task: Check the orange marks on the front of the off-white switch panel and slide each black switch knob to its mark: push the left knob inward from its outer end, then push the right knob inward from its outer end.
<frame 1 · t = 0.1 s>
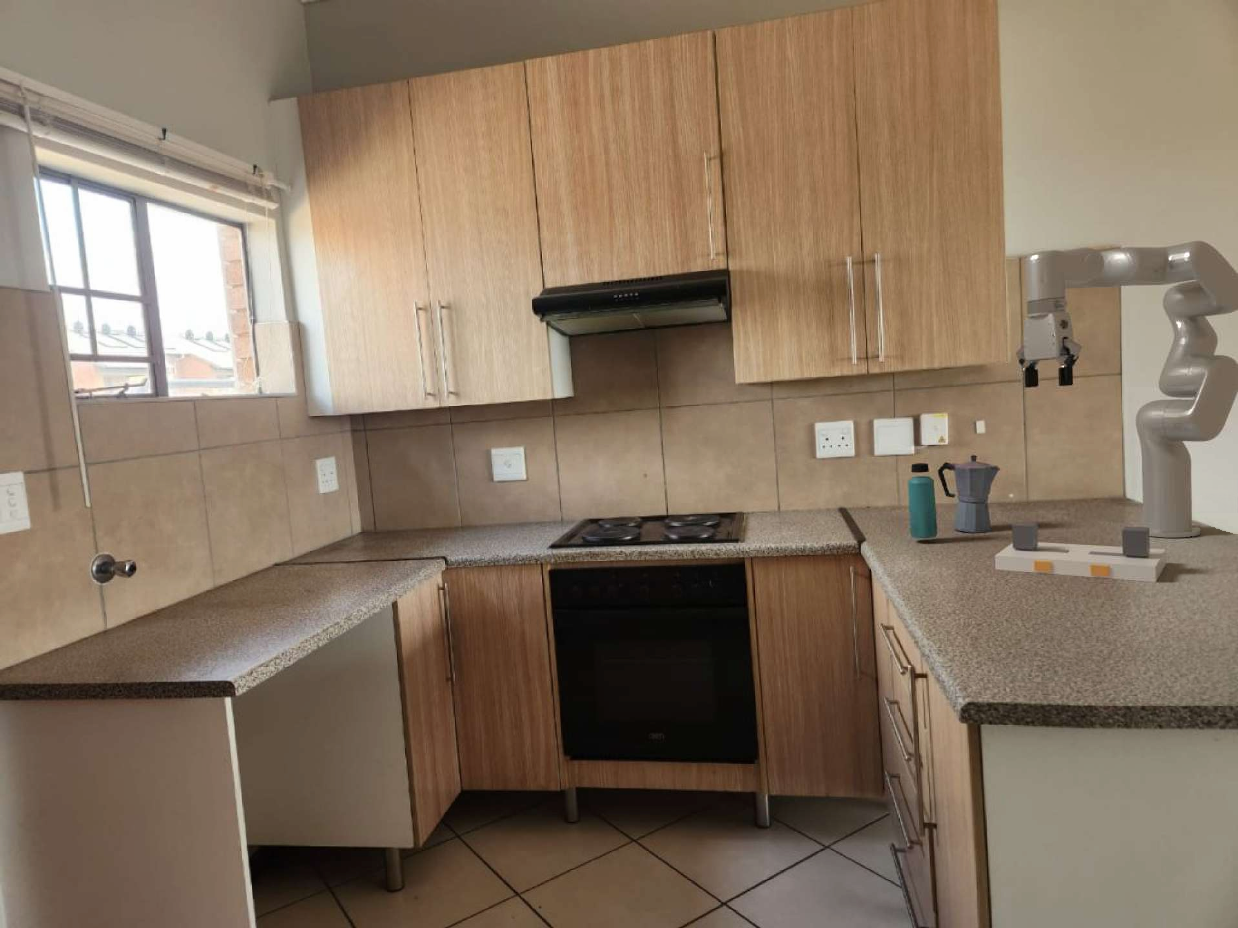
hand: (1048, 386, 173), 37 cm above the worktop, tool pointing down, fingers open, 9 cm apart
beverage bottle: (923, 542, 196), on the worktop
right knob: (1135, 541, 154), point 6 cm above the worktop, slide at 0.0 cm
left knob: (1025, 535, 167), point 6 cm above the worktop, slide at 0.0 cm
moka pot: (970, 530, 206), on the worktop
switch panel: (1079, 566, 161), on the worktop
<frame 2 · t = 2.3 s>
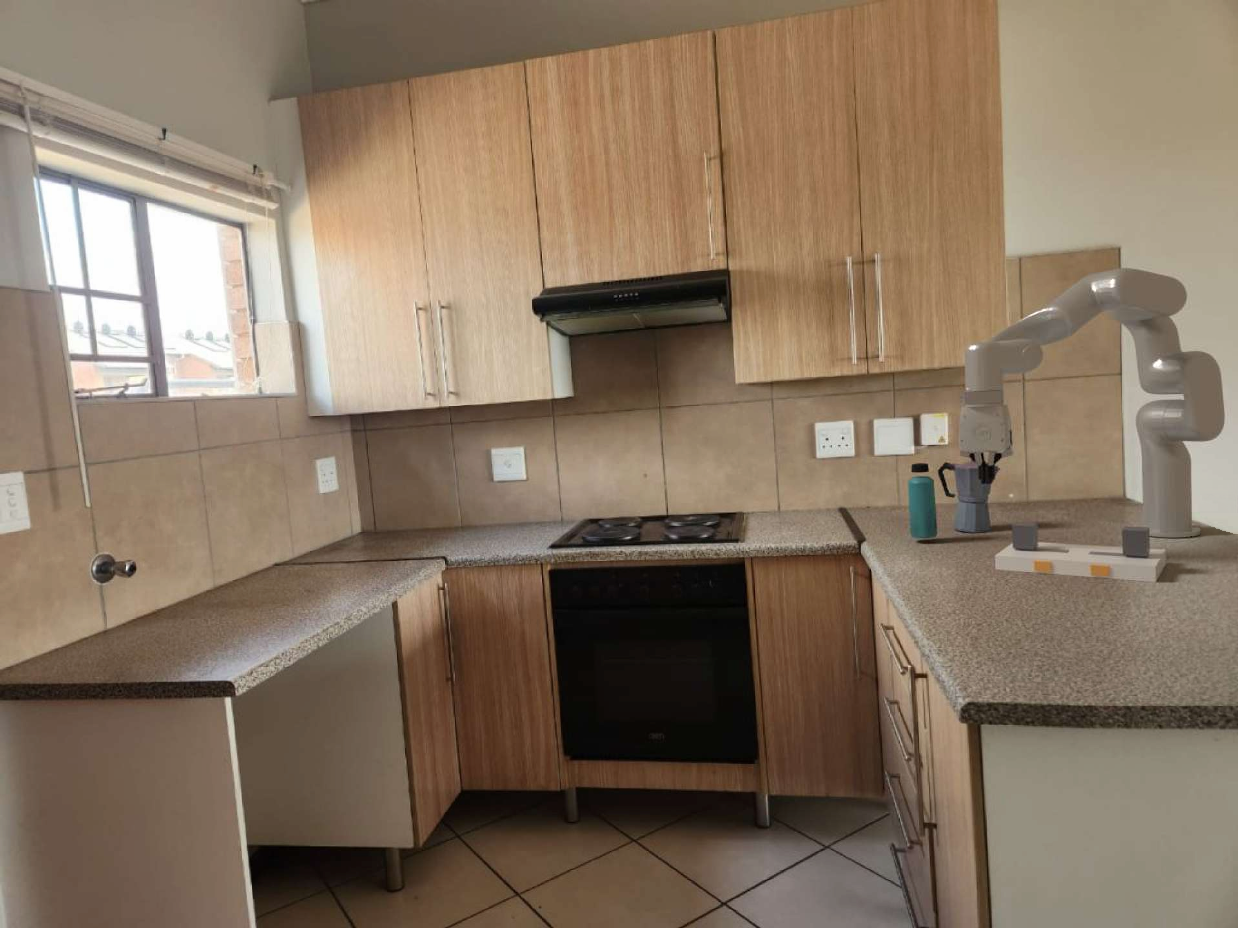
hand: (986, 483, 170), 17 cm above the worktop, tool pointing down, fingers closed
nothing on the worktop moved.
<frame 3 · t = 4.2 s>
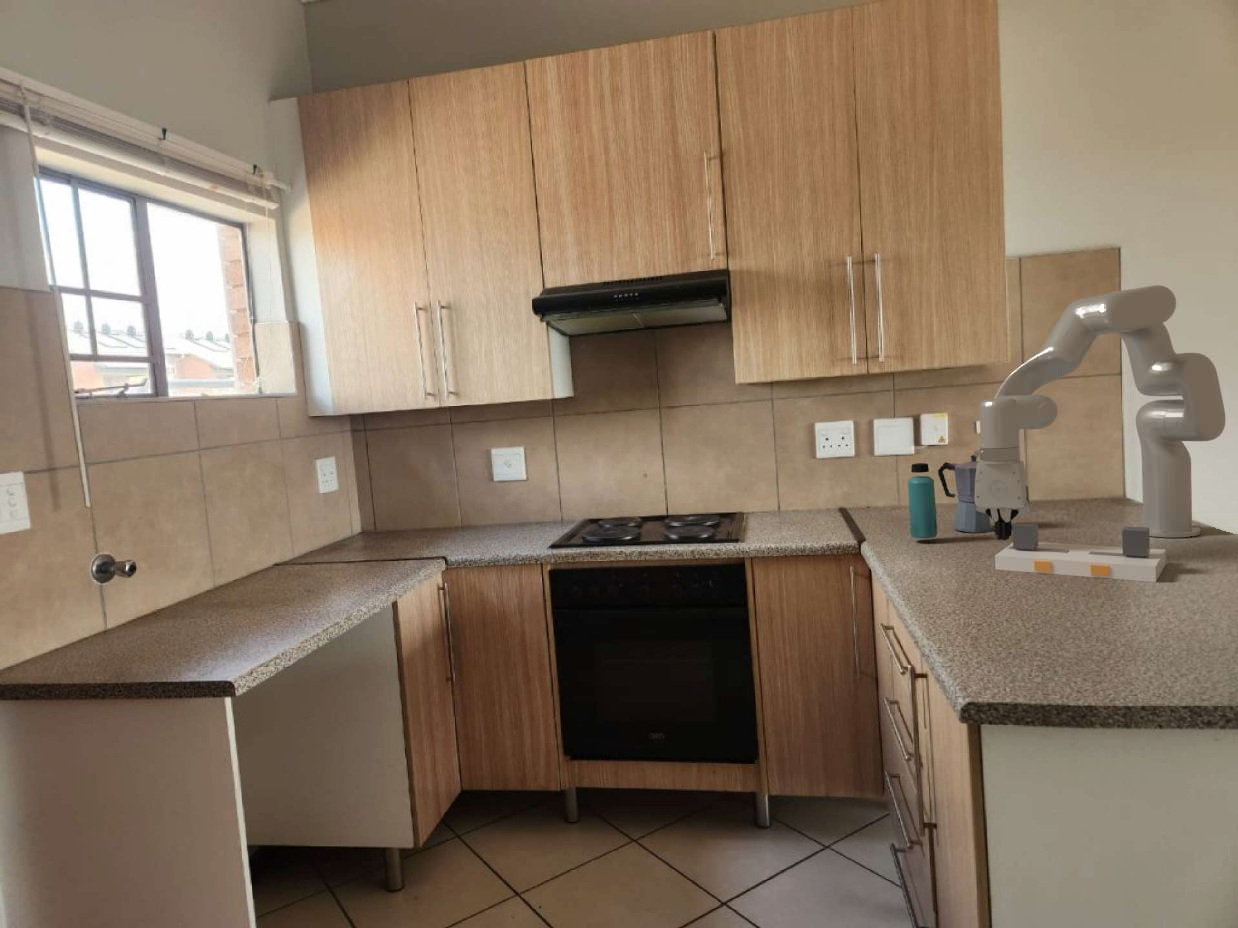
hand: (1003, 538, 170), 5 cm above the worktop, tool pointing down, fingers closed
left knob: (1025, 535, 167), point 6 cm above the worktop, slide at 0.1 cm, touching gripper
everything else where it was.
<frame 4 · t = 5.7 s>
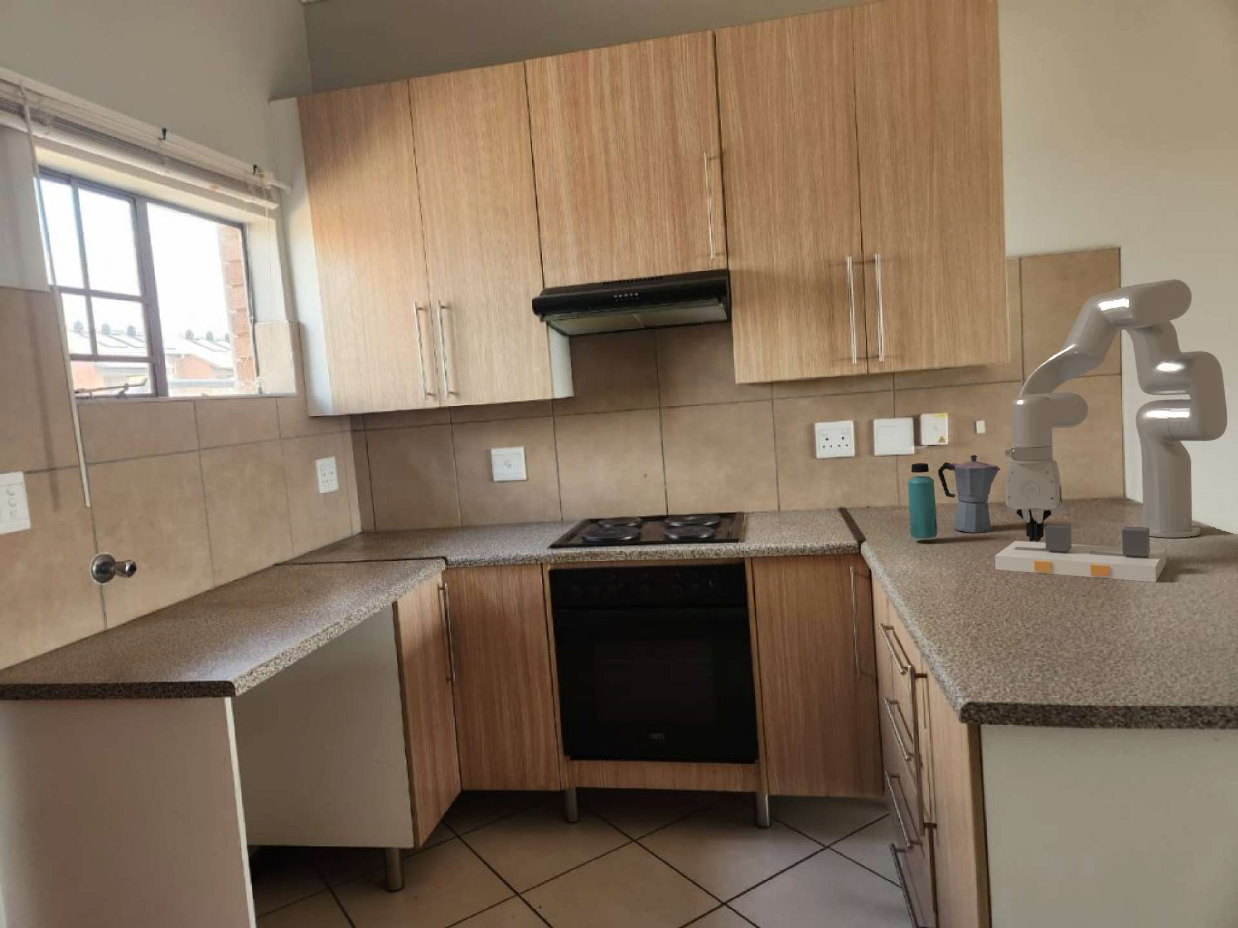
hand: (1035, 540, 166), 5 cm above the worktop, tool pointing down, fingers closed
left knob: (1058, 537, 163), point 6 cm above the worktop, slide at 6.3 cm, touching gripper
everything else where it was.
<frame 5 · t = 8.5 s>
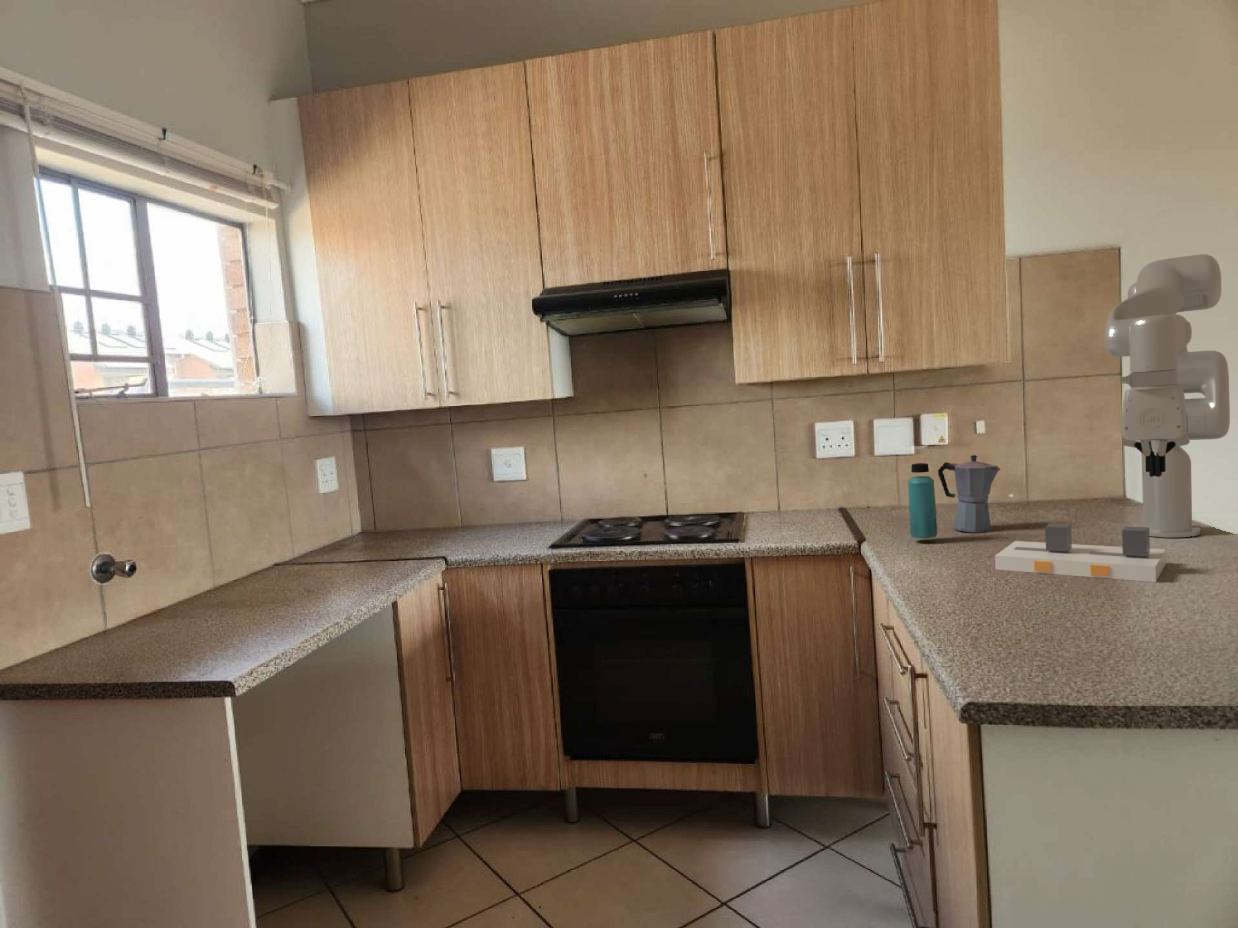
hand: (1155, 475, 150), 19 cm above the worktop, tool pointing down, fingers closed
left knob: (1058, 537, 163), point 6 cm above the worktop, slide at 6.4 cm
everything else where it was.
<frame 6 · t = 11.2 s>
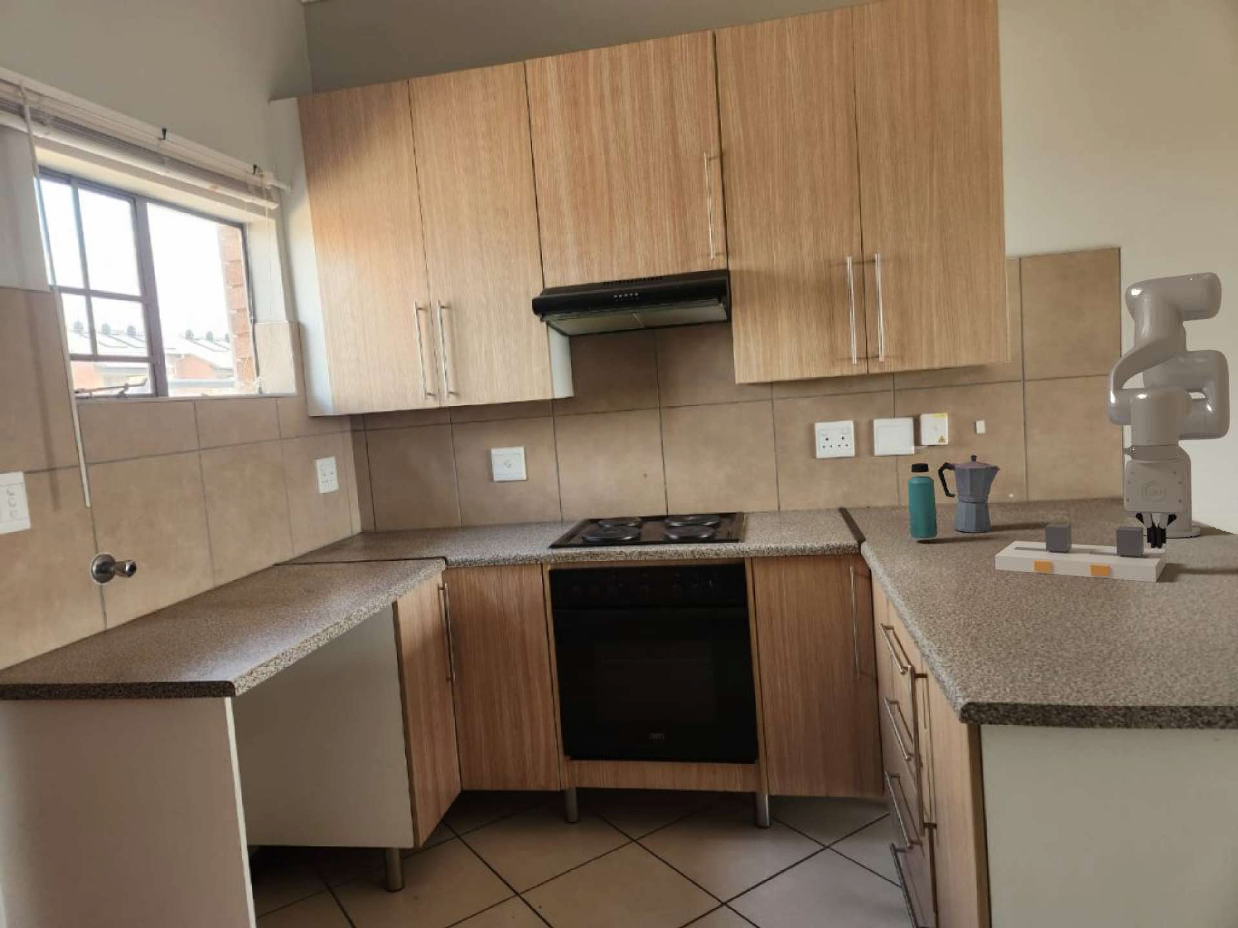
hand: (1156, 546, 152), 5 cm above the worktop, tool pointing down, fingers closed
right knob: (1130, 540, 154), point 6 cm above the worktop, slide at 1.0 cm, touching gripper
everything else where it was.
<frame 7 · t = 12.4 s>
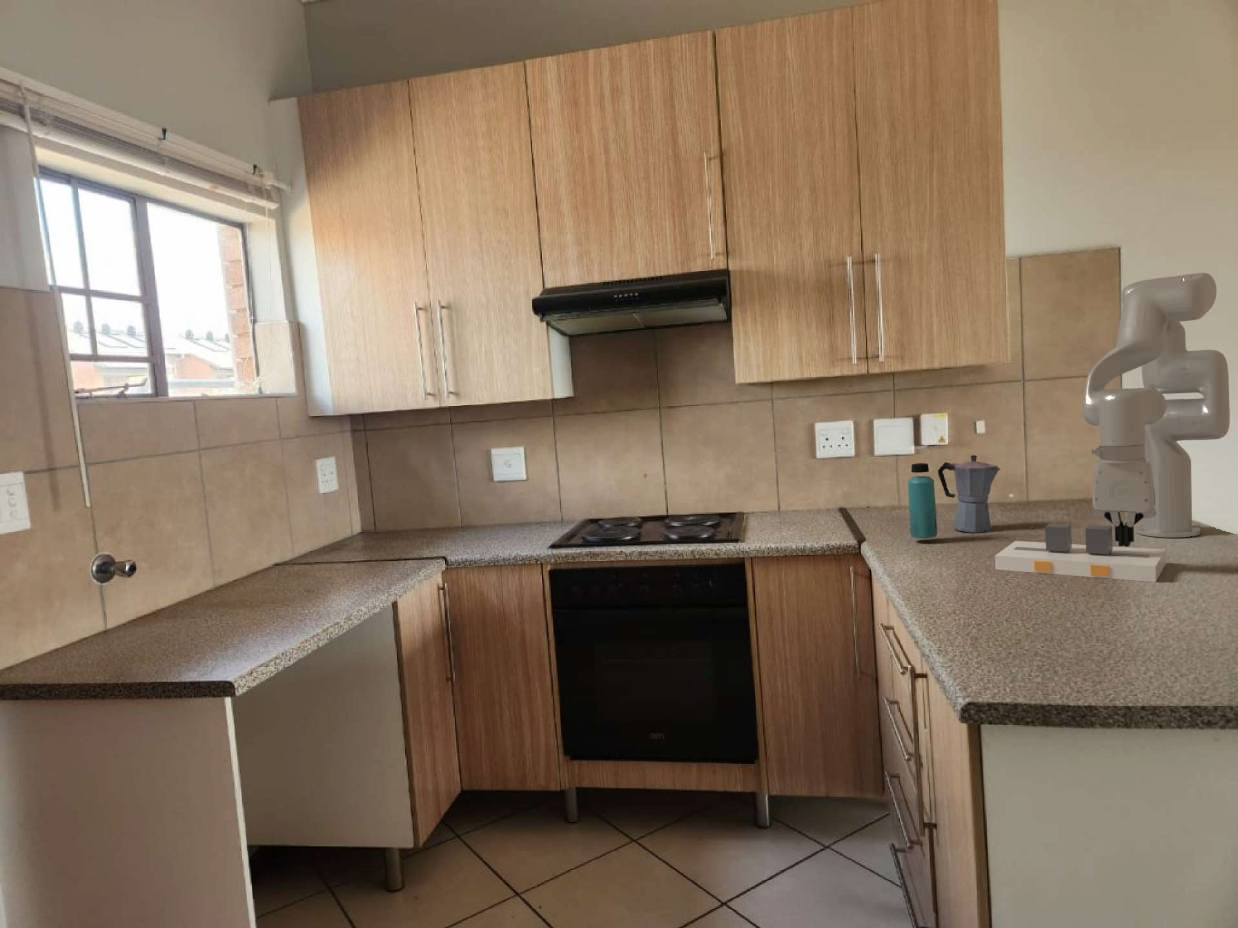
hand: (1124, 545, 155), 5 cm above the worktop, tool pointing down, fingers closed
right knob: (1099, 539, 158), point 6 cm above the worktop, slide at 6.3 cm, touching gripper
everything else where it was.
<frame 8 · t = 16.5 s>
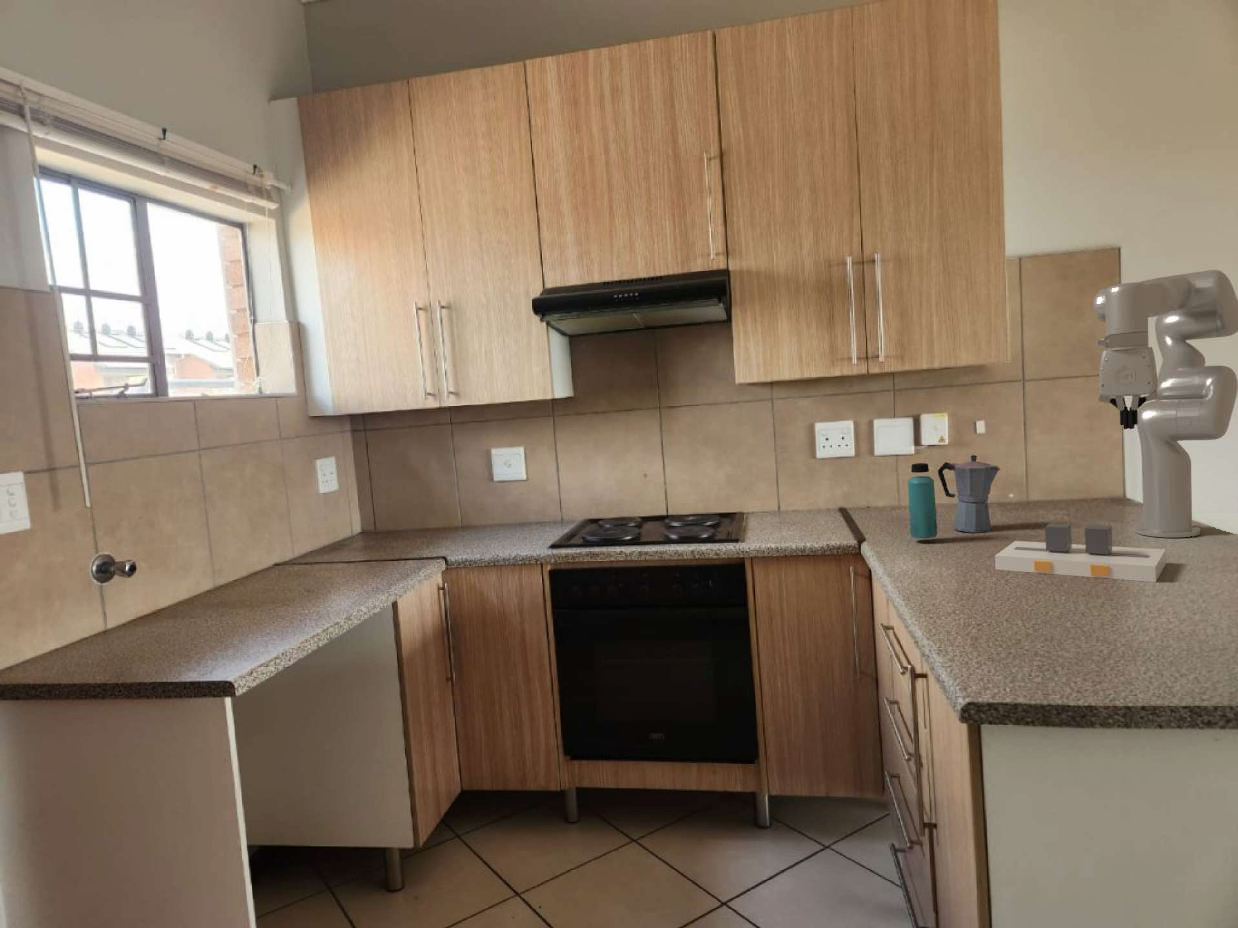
hand: (1129, 428, 167), 27 cm above the worktop, tool pointing down, fingers closed
right knob: (1098, 539, 158), point 6 cm above the worktop, slide at 6.4 cm
everything else where it was.
at the end: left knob slide at 6.4 cm; right knob slide at 6.4 cm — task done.
